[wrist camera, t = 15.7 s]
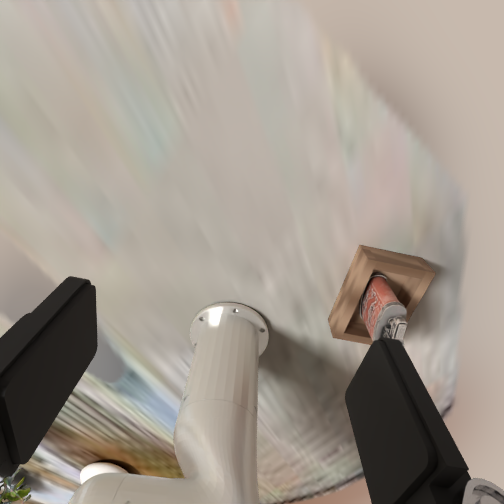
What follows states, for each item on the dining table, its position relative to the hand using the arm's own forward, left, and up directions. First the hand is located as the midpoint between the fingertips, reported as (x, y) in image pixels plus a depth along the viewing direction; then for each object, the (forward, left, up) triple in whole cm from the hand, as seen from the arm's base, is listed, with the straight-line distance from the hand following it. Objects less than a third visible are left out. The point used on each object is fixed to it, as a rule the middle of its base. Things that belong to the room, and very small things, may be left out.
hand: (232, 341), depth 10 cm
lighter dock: (-15, -21, -30) cm, 40 cm away
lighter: (-15, -21, -30) cm, 39 cm away
